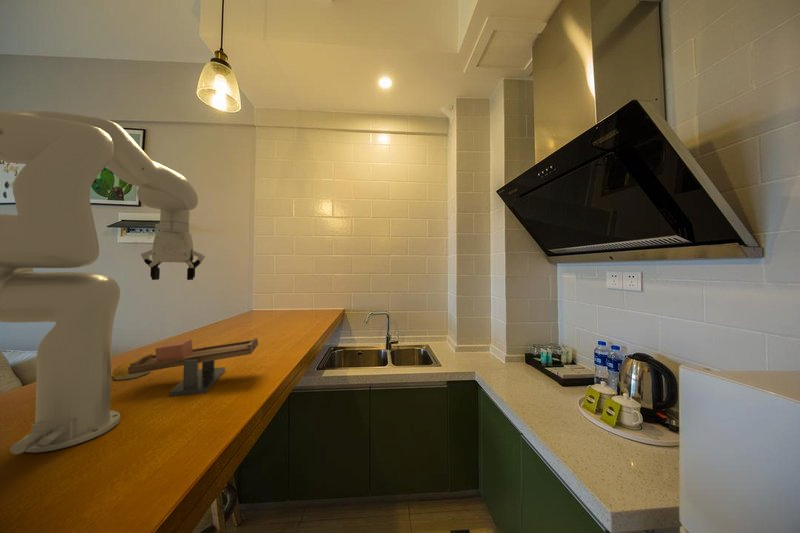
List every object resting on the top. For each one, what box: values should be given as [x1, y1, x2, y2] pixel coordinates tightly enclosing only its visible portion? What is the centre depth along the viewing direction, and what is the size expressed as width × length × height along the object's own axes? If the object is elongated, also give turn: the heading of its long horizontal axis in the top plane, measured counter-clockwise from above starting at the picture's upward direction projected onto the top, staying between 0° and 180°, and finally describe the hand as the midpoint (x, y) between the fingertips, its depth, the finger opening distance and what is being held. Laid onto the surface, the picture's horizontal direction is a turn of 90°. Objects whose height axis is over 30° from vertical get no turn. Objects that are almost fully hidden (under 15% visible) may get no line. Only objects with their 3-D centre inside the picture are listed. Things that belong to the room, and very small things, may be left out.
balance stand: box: [168, 359, 226, 398], centre depth 78 cm, size 16×8×8 cm, turn 17°
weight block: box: [154, 338, 194, 362], centre depth 76 cm, size 6×6×4 cm
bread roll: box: [111, 359, 151, 381], centre depth 83 cm, size 8×9×4 cm
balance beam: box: [128, 337, 259, 374], centre depth 78 cm, size 11×28×3 cm, turn 107°
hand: (173, 279), depth 91 cm, fingers open, 9 cm apart
